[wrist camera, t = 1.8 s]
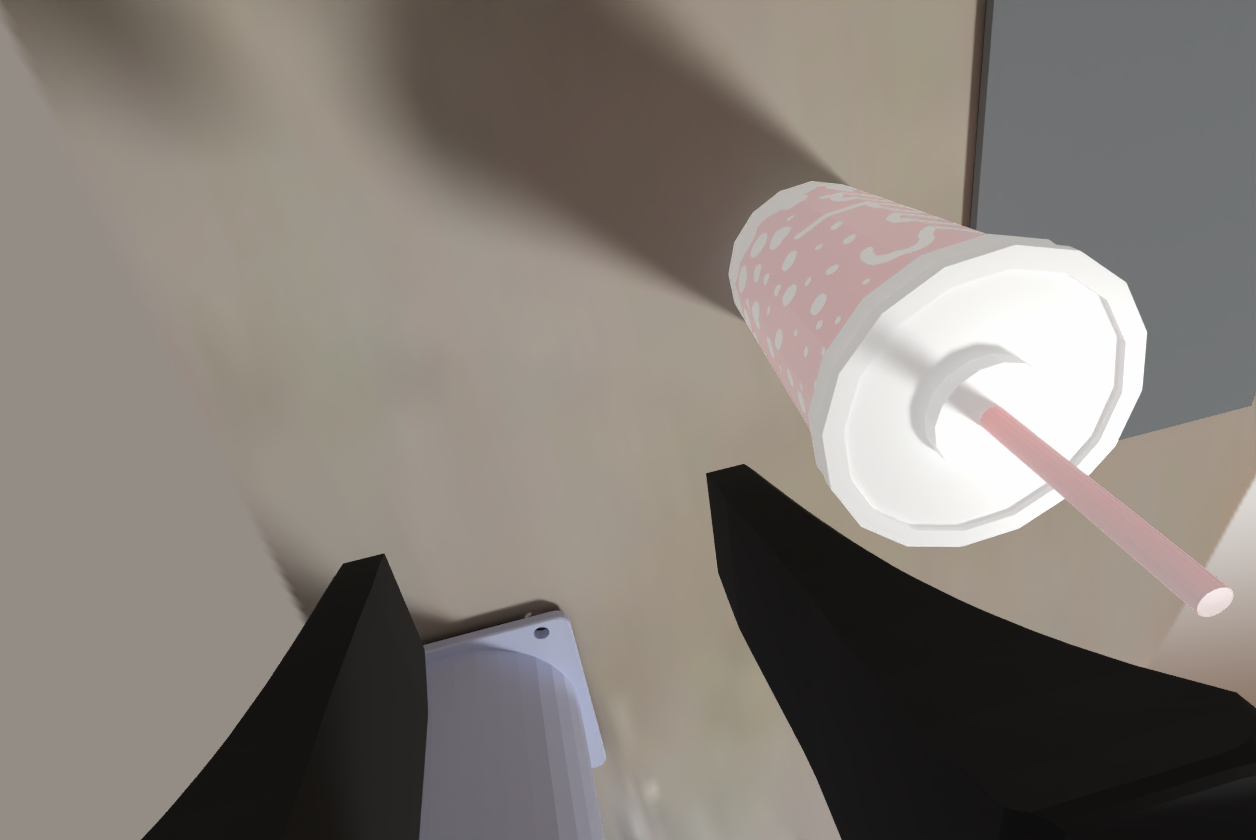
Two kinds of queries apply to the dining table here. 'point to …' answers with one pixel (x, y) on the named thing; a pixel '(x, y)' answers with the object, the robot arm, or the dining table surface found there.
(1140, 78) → the rubber mat
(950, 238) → the beverage cup
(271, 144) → the dining table surface
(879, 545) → the dining table surface
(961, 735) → the robot arm
